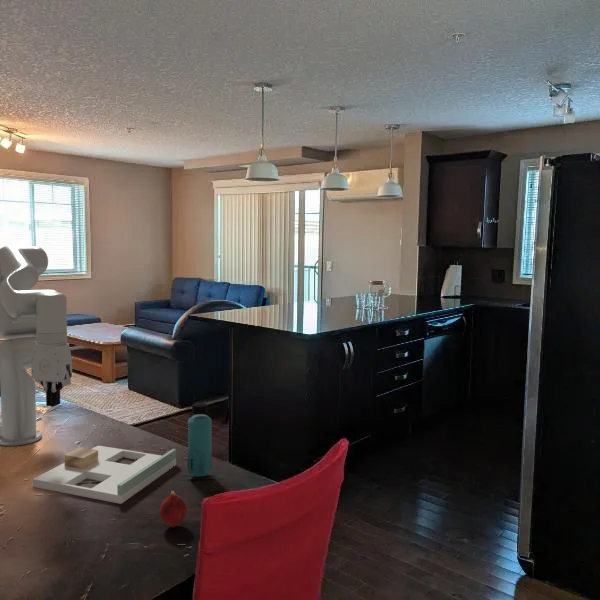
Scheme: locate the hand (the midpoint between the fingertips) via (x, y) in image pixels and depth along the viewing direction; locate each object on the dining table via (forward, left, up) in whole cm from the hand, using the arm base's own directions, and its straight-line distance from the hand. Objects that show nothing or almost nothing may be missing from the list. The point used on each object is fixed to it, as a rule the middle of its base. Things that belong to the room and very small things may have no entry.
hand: (53, 404), depth 149 cm
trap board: (+17, 0, -17) cm, 24 cm away
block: (+9, 0, -15) cm, 18 cm away
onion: (+47, -17, -17) cm, 53 cm away
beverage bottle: (+40, +8, -17) cm, 45 cm away
